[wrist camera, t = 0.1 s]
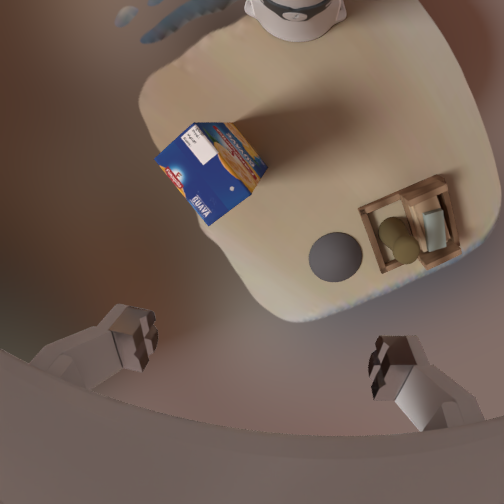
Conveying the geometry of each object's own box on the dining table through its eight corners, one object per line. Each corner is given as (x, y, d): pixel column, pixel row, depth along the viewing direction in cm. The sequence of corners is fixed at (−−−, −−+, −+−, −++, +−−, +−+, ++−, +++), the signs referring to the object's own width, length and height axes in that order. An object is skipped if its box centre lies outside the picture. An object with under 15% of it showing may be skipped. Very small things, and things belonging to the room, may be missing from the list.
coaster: (312, 230, 58) (312, 230, 58) (365, 235, 57) (366, 236, 57) (306, 279, 63) (305, 279, 63) (355, 283, 62) (356, 284, 61)
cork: (389, 211, 54) (408, 230, 44) (410, 227, 55) (430, 249, 45) (372, 235, 57) (386, 258, 47) (393, 250, 57) (410, 275, 48)
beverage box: (231, 122, 52) (193, 121, 32) (268, 167, 55) (252, 194, 35) (204, 144, 54) (153, 158, 34) (239, 188, 57) (208, 226, 37)
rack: (380, 270, 60) (388, 287, 53) (357, 208, 55) (365, 219, 49) (451, 238, 54) (466, 251, 48) (435, 174, 50) (451, 181, 43)
